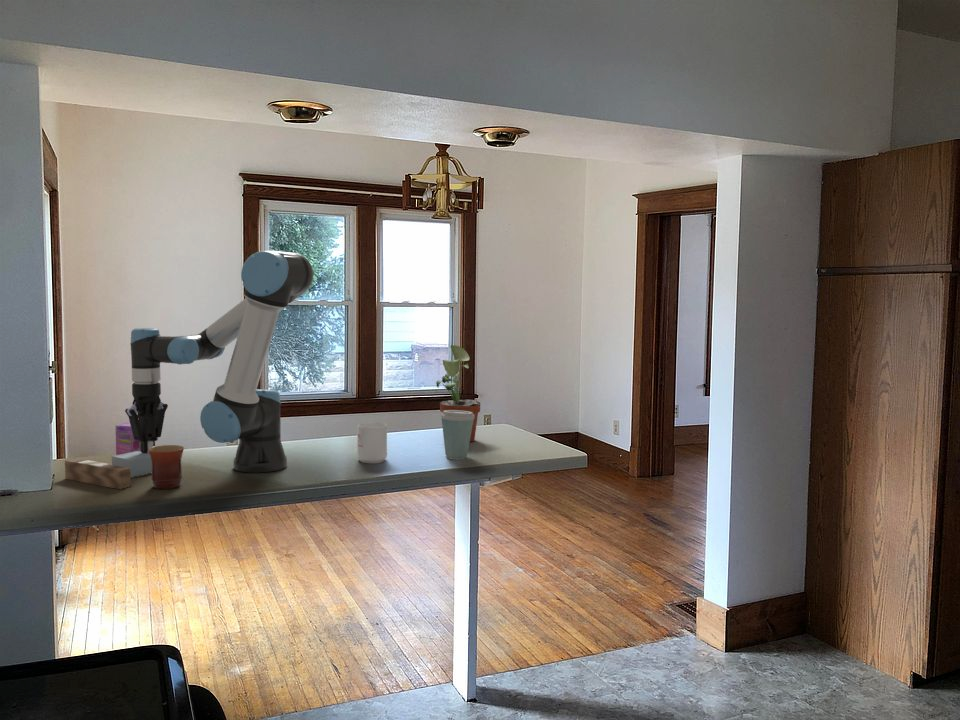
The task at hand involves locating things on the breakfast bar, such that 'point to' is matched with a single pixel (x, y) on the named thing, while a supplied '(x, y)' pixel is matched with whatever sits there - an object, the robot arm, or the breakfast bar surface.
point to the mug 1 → (166, 466)
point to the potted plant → (457, 404)
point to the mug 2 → (372, 442)
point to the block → (134, 462)
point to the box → (126, 439)
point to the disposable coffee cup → (457, 432)
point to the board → (97, 473)
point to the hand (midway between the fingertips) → (148, 463)
